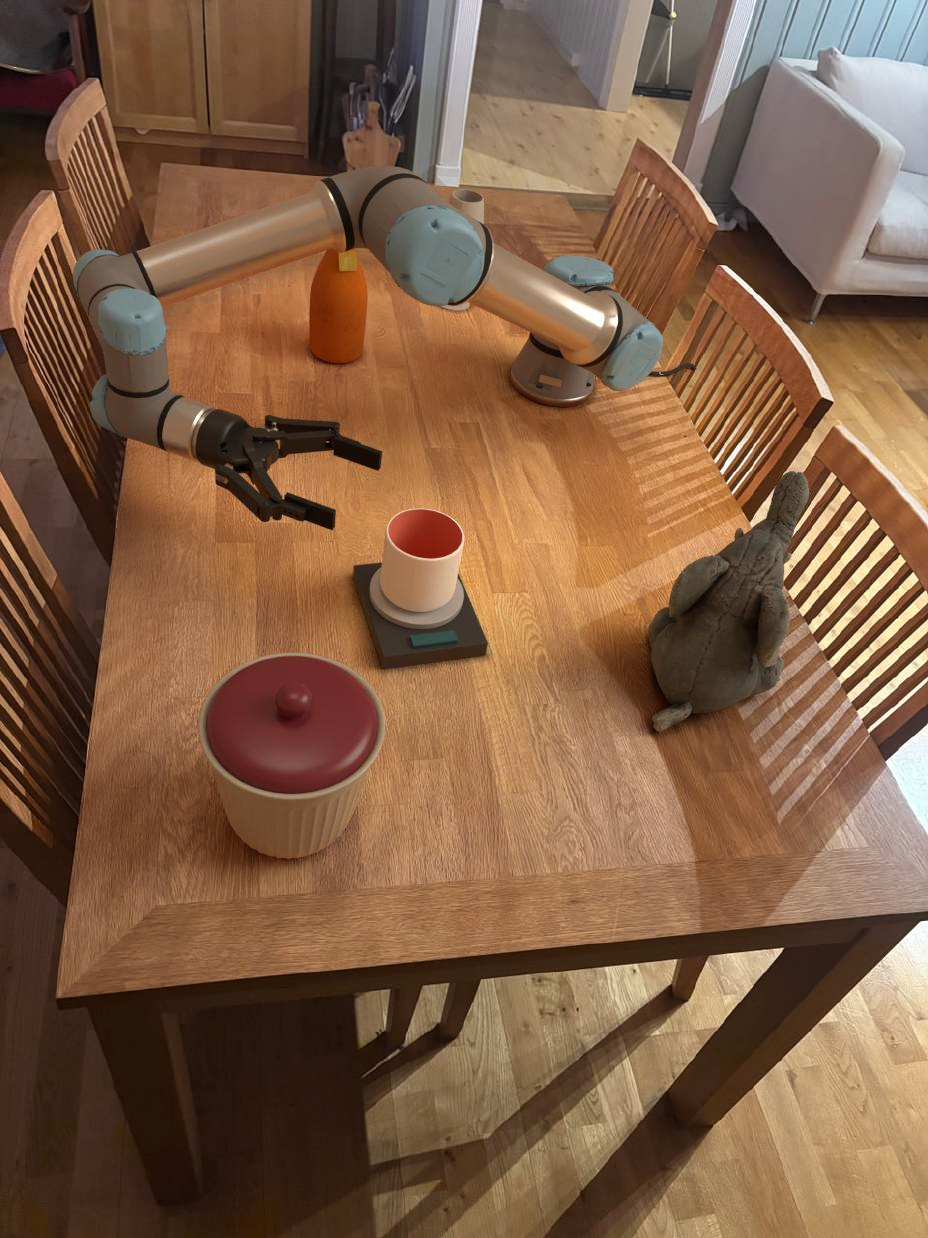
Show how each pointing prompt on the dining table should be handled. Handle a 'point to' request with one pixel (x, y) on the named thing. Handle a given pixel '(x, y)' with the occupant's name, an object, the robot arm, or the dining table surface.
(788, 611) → the stuffed elephant
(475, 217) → the wineglass
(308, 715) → the canister
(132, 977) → the dining table surface
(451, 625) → the scale
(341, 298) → the wine bottle
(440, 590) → the cup
